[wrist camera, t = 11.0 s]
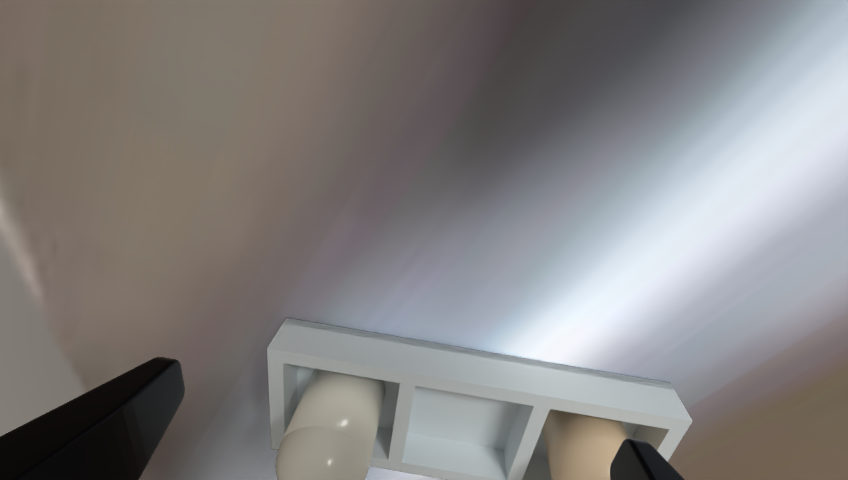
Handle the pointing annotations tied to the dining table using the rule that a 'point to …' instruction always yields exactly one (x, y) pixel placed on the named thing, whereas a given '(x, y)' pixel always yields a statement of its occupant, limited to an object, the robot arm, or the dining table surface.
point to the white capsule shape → (332, 428)
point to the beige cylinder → (581, 445)
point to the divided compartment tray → (464, 401)
